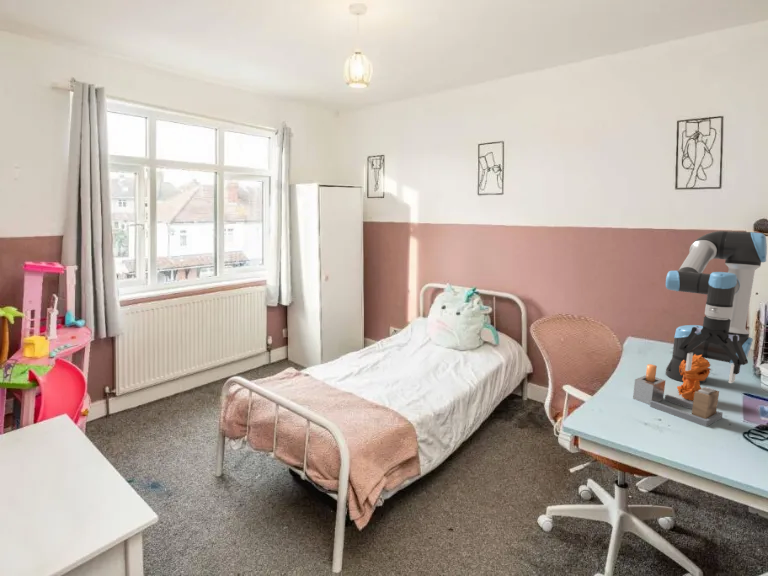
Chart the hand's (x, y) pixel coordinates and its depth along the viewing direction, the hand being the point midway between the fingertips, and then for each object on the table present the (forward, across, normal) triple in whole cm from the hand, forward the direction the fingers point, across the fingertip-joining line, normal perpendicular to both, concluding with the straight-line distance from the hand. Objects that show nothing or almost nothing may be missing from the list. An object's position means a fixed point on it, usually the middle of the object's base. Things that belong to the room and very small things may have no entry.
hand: (708, 376), depth 163 cm
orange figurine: (+16, -11, +16) cm, 25 cm away
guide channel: (+16, -6, 0) cm, 17 cm away
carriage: (+16, 0, 0) cm, 16 cm away
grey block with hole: (+16, -20, 0) cm, 25 cm away
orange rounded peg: (+8, -19, 0) cm, 21 cm away
